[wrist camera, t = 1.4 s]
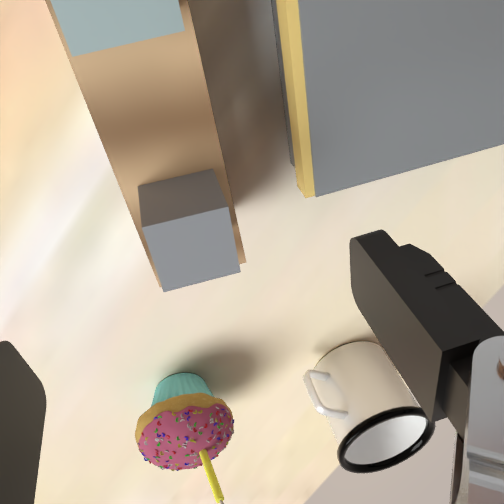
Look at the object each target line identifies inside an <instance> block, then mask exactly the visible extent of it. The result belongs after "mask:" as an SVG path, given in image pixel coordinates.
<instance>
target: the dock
mask: <svg viewBox="0 0 504 504" xmlns="http://www.w3.org/2000/svg"><path fill="white" fill-rule="evenodd" d="M271 3H272V12H273V20H274V28H275V36H276V45H277V53H278V61H279V69H280V78H281V86H282V94H283V102H284V111H285V119H286V127H287V135H288V144H289V152H290V160H291V164H292V165H293V166H294V168H295V169H296V178H297V186H298V188H299V189H300V190H301V192H302V193H303V195H304V196H305V198H308V197H312V196H316V197H318V196H322V195H325V194H329V193H332V192H336V191H340V190H343V189H347V188H350V187H354V186H357V185H361V184H364V183H368V182H371V181H375V180H378V179H382V178H386V177H389V176H393V175H396V174H400V173H403V172H407V171H410V170H414V169H417V168H421V167H425V166H428V165H432V164H435V163H439V162H442V161H446V160H449V159H453V158H456V157H460V156H463V155H467V154H471V153H474V152H478V151H481V150H485V149H488V148H492V147H495V146H499V145H502V144H504V0H271Z"/></svg>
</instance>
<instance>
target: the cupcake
mask: <svg viewBox="0 0 504 504" xmlns="http://www.w3.org/2000/svg"><path fill="white" fill-rule="evenodd" d="M233 423H234V420H233V416H232V412H231V410H230V408H229V407H228V406H227V405H226V404H225V402H224V401H223V400H222V399H219V398H215V397H214V396H213V394H212V393H211V391H210V390H209V388H208V387H207V385H206V383H205V382H204V380H203V379H202V378H201V377H200V376H198V375H196V374H192V373H178V374H174V375H171V376H169V377H167V378H165V379H164V380H162V381H161V382H160V383H159V384H158V386H157V387H156V390H155V394H154V398H153V402H152V405H151V408H150V409H148V410H147V411H146V412H145V413H143V414H142V415H141V416H140V417H139V419H138V422H137V427H136V431H135V438H136V442H137V445H138V448H139V451H140V452H141V453H142V455H143V456H144V457H145V458H146V459H145V458H144V460H145V461H148V460H149V462H150V464H151V462H152V463H153V464H154V465H155V466H158V467H161V469H162V468H163V469H165V468H166V469H171V470H172V471H174V470H177V471H178V470H181V469H191V468H194V469H195V467H196V468H197V467H198V466H200V465H201V466H202V464H203V466H204V469H205V471H206V474H207V477H208V480H209V483H210V486H211V489H212V491H213V494H214V497H215V500H216V502H217V503H221V504H224V503H223V500H224V497H223V494H222V491H221V488H220V486H219V483H218V480H217V477H216V475H215V472H214V469H213V466H212V464H211V461H210V460H212V459H214V458H215V457H217V456H218V454H219V453H220V452H221V451H222V450H223V449H224V448H226V445H227V444H228V441H230V439H231V436H232V434H233V433H234V430H233ZM232 432H233V433H232ZM163 469H162V470H163Z"/></svg>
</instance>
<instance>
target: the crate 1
mask: <svg viewBox="0 0 504 504" xmlns="http://www.w3.org/2000/svg"><path fill="white" fill-rule="evenodd" d="M50 1H51V3H52V6H53V9H54V11H55V14H56V16H57V19H58V21H59V24H60V27H61V29H62V32H63V34H64V37H65V39H66V42H67V45H68V47H69V50H70V52H71V55H72V57H74V56H78V55H82V54H87V53H91V52H95V51H100V50H104V49H108V48H113V47H117V46H121V45H126V44H130V43H134V42H138V41H143V40H147V39H151V38H156V37H160V36H164V35H169V34H173V33H177V32H182V31H185V28H184V24H183V19H182V15H181V11H180V6H179V2H178V0H50Z"/></svg>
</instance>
